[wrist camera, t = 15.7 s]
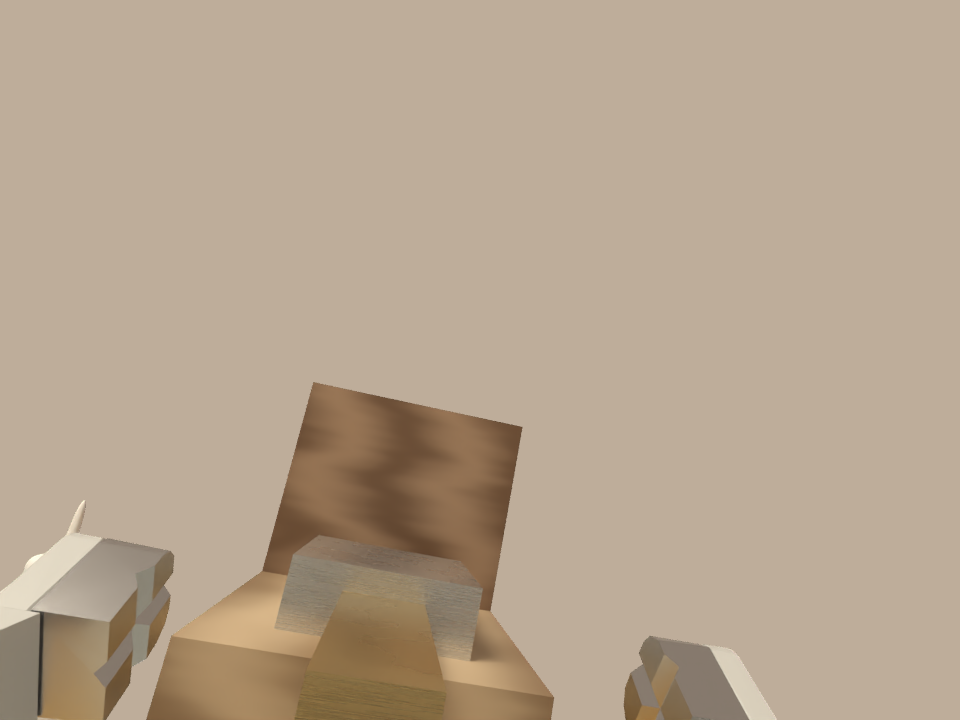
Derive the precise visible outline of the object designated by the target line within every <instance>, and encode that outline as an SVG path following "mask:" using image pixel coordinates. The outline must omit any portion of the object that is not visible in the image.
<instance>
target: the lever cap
mask: <svg viewBox="0 0 960 720" xmlns="http://www.w3.org/2000/svg"><path fill="white" fill-rule="evenodd" d="M482 591H483V588H482V587H481V586H480V584H479V583H478V582H477V581H476V579H475V578H474V577H473V576H472V574H471V573H470V572H469V571H468V570H467V568H466V567H465V566H464V565H463V563H462V562H461V561H456V560H451V559H445V558H440V557H435V556H429V555H424V554H418V553H413V552H408V551H402V550H397V549H391V548H386V547H381V546H375V545H370V544H364V543H359V542H354V541H348V540H343V539H337V538H332V537H327V536H321V535H318V536H317V537H316V538H314V539H313V540H312V541H310V542H309V543H308V544H306V545H305V546H303V547H302V548H301V549H299V550H298V551H297V552H295V553H294V554H293V557H292V561H291V564H290V568H289V572H288V576H287V580H286V584H285V588H284V591H283V595H282V599H281V603H280V607H279V611H278V615H277V618H276V622H275V626H274V629H277V630H283V631H289V632H295V633H301V634H307V635H313V636H319V637H321V639H320V641H319V643H318V645H317V648H316V650H315V652H314V654H313V656H312V659H311V661H310V663H309V665H308V667H307V670H306V673H305V677H304V682H303V686H302V690H301V694H300V698H299V702H298V706H297V710H296V715H295V719H294V720H442V715H443V709H444V704H445V699H446V693H447V692H446V688H445V684H444V680H443V676H442V671H441V667H440V663H439V659H438V656H440V657H446V658H452V659H458V660H464V661H470V658H471V653H472V647H473V642H474V636H475V630H476V625H477V619H478V614H479V608H480V602H481V597H482Z"/></svg>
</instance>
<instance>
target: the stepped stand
mask: <svg viewBox="0 0 960 720" xmlns="http://www.w3.org/2000/svg"><path fill="white" fill-rule="evenodd" d="M521 432H522V427H520V426H515V425H510V424H506V423H501V422H496V421H492V420H487V419H482V418H478V417H473V416H468V415H464V414H458V413H454V412H450V411H445V410H440V409H436V408H431V407H426V406H422V405H417V404H412V403H408V402H403V401H398V400H394V399H388V398H385V397H380V396H375V395H370V394H365V393H361V392H357V391H352V390H347V389H343V388H338V387H333V386H328V385H323V384H319V383H315V382H314V383H313V386H312V390H311V393H310V397H309V400H308V404H307V408H306V412H305V416H304V419H303V423H302V427H301V430H300V434H299V437H298V441H297V445H296V449H295V453H294V456H293V460H292V464H291V467H290V471H289V474H288V479H287V482H286V486H285V489H284V493H283V497H282V500H281V504H280V508H279V511H278V515H277V519H276V522H275V526H274V530H273V534H272V537H271V541H270V545H269V548H268V552H267V556H266V559H265V563H264V567H263V571H262V572H260V573H259V574H258V575H256V576H255V577H253V578H252V579H251V580H249V581H248V582H247V583H245V584H244V585H242V586H241V587H240V588H238V589H237V590H235V591H234V592H232V593H231V594H230V595H228V596H227V597H225V598H224V599H223V600H221V601H220V602H218V603H217V604H216V605H214V606H213V607H211V608H210V609H209V610H207V611H206V612H205V613H203V614H202V615H200V616H199V617H198V618H196V619H195V620H193V621H192V622H190V623H189V624H187V625H186V626H185V627H183V628H182V629H181V630H179V631H178V632H176V633H175V634H174V635H172V636H171V639H170V642H169V646H168V649H167V653H166V656H165V659H164V663H163V666H162V669H161V673H160V676H159V679H158V682H157V686H156V689H155V692H154V696H153V699H152V702H151V706H150V709H149V712H148V716H147V719H146V720H294V719H295V715H296V710H297V706H298V702H299V698H300V694H301V690H302V686H303V682H304V677H305V673H306V670H307V667H308V665H309V663H310V661H311V659H312V656H313V654H314V652H315V650H316V648H317V645H318V643H319V641H320V639H321V637H319V636H313V635H307V634H301V633H295V632H289V631H283V630H277V629H274V626H275V622H276V618H277V615H278V611H279V607H280V603H281V599H282V595H283V591H284V588H285V584H286V580H287V576H288V572H289V568H290V564H291V561H292V557H293V554H294V553H295V552H297V551H298V550H299V549H301V548H302V547H303V546H305V545H306V544H308V543H309V542H310V541H312V540H313V539H314V538H316V537H317V536H318V535H321V536H327V537H332V538H337V539H343V540H348V541H354V542H359V543H364V544H370V545H375V546H381V547H386V548H391V549H397V550H402V551H408V552H413V553H418V554H424V555H429V556H435V557H440V558H445V559H451V560H456V561H461V562H462V563H463V565H464V566H465V567H466V568H467V570H468V571H469V572H470V573H471V574H472V576H473V577H474V578H475V579H476V581H477V582H478V583H479V584H480V586H481V587H482V588H483V591H482V597H481V602H480V608H479V614H478V619H477V625H476V630H475V636H474V642H473V647H472V653H471V658H470V661H464V660H458V659H452V658H446V657H440V656H438V659H439V663H440V667H441V671H442V676H443V680H444V684H445V688H446V692H447V693H446V699H445V704H444V709H443V715H442V720H551V715H552V708H553V701H554V697H553V695H552V694H551V693H550V691H549V690H548V689H547V687H546V686H545V685H544V683H543V682H542V681H541V679H540V678H539V677H538V675H537V674H536V672H535V671H534V670H533V668H532V667H531V666H530V664H529V663H528V662H527V660H526V659H525V658H524V656H523V655H522V654H521V652H520V651H519V649H518V648H517V647H516V646H515V644H514V643H513V641H512V640H511V639H510V637H509V636H508V635H507V633H506V632H505V631H504V629H503V628H502V627H501V625H500V624H499V622H498V621H497V620H496V618H495V617H494V616H493V614H492V613H491V612H490V610H491V603H492V598H493V592H494V587H495V581H496V575H497V569H498V563H499V558H500V551H501V546H502V541H503V535H504V529H505V523H506V518H507V512H508V506H509V501H510V495H511V489H512V483H513V478H514V472H515V466H516V461H517V455H518V449H519V443H520V437H521Z"/></svg>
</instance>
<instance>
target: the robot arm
mask: <svg viewBox="0 0 960 720" xmlns="http://www.w3.org/2000/svg"><path fill="white" fill-rule="evenodd" d="M173 564H174V555H173V554H172V553H171V551H168V550H163V549H158V548H152V547H148V546H143V545H138V544H132V543H128V542H123V541H118V540H113V539H104V538H100V537H95V536H90V535H85V534H80V533H72V534H69V535H66V536H65V537H63V538H62V539H61V540H60V541H58V542H57V543H56V544H55V545H54V546H53V547H52V548H50V549H49V550H48V551H47V552H46V553H45V554H44V555H43V556H41V557H40V558H39V559H38V560H37V561H36V562H35V563H33V564H32V565H31V566H30V567H29V568H28V569H27V570H26V571H24V572H23V573H22V574H21V575H20V576H19V577H18V578H17V579H15V580H14V581H13V582H12V583H11V584H10V585H9V586H7V587H6V588H5V589H4V590H3V591H2V592H1V593H0V720H37V719H38V717H40V718H50V719H59V720H106V719H107V717H108V716H109V714H110V713H111V711H112V710H113V708H114V706H115V705H116V704H117V702H118V700H119V699H120V698H121V696H122V695H123V693H124V692H125V690H126V688H127V687H128V686H129V684H130V677H131V667H132V666H134V665H136V664H137V663H139V662H141V661H143V660H145V659H146V658H147V657H148V655H149V654H150V652H151V650H152V649H153V647H154V646H155V644H156V642H157V640H158V638H159V636H160V633H161V631H162V629H163V626H164V624H165V621H166V618H167V614H168V610H169V604H170V594H169V592H168V591H167V589H166V588H165V586H164V584H165V583H166V581H167V580H168V579H169V577H170V576H171V574H172V573H173ZM639 654H640V657H641V660H642V662H643V665H641V666H640V667H638V668H637V669H635V670H634V671H633V672H631V674H630V676H629V679H628V682H627V684H626V687H625V698H624V710H625V718H626V720H777V719H776V718H775V716H774V714H773V712H772V711H771V709H770V708H769V706H768V704H767V702H766V701H765V699H764V698H763V696H762V694H761V693H760V691H759V689H758V688H757V686H756V684H755V683H754V681H753V679H752V678H751V676H750V674H749V673H748V671H747V670H746V668H745V666H744V665H743V663H742V661H741V660H740V658H739V657H738V655H737V654H736V653H735V652H734V651H733V650H731V649H730V648H724V647H717V646H710V645H699V644H694V643H689V642H682V641H676V640H671V639H665V638H658V637H653V636H649V637H648V638H647V639H646V640H645V642H644V643H643V645H642V647H641V650H640V652H639Z"/></svg>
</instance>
